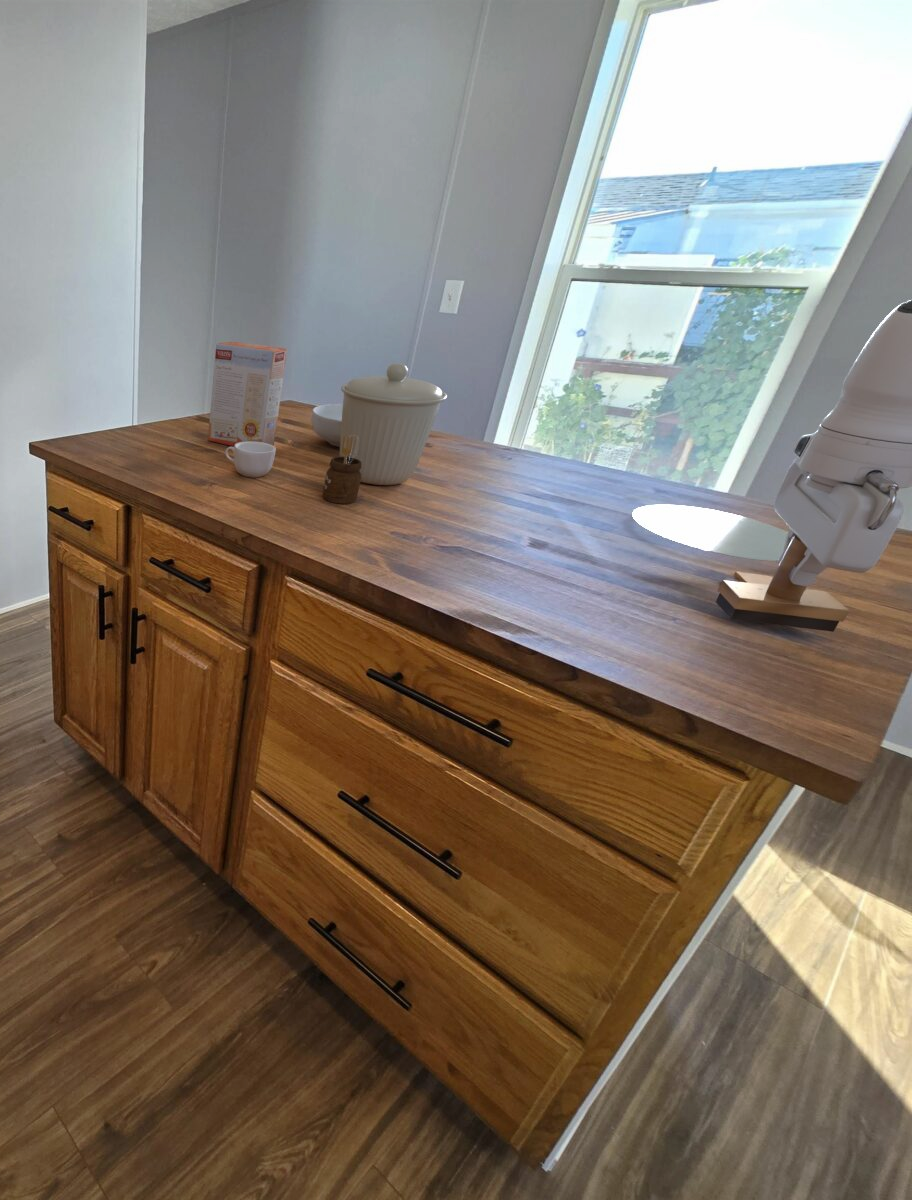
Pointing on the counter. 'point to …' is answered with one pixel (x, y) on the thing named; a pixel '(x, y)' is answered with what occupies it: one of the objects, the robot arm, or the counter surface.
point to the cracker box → (246, 393)
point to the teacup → (252, 458)
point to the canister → (388, 423)
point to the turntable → (713, 531)
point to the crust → (753, 578)
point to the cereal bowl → (328, 422)
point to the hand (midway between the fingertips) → (792, 575)
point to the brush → (782, 599)
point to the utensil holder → (343, 477)
